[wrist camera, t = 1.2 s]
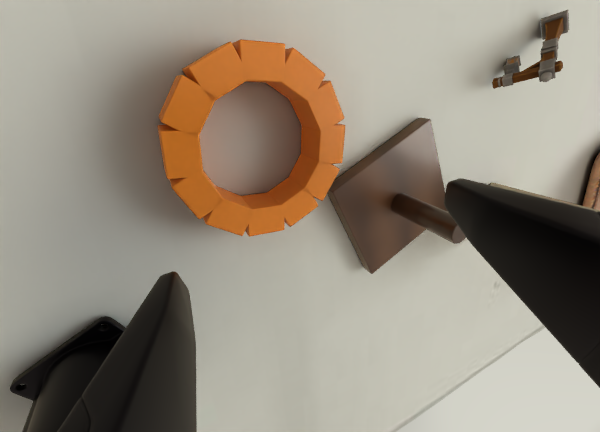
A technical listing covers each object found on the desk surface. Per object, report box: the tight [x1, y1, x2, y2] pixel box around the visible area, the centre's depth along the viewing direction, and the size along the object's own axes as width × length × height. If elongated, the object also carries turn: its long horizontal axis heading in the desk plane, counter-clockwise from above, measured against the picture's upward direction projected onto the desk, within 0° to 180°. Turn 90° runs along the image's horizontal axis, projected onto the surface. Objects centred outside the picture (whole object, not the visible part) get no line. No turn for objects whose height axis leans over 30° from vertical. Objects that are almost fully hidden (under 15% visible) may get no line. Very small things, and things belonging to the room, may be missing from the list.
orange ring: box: [158, 40, 345, 236], centre depth 18 cm, size 11×11×3 cm
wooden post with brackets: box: [492, 10, 569, 88], centre depth 25 cm, size 2×8×4 cm, turn 128°
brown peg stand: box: [327, 118, 466, 274], centre depth 23 cm, size 10×10×7 cm
